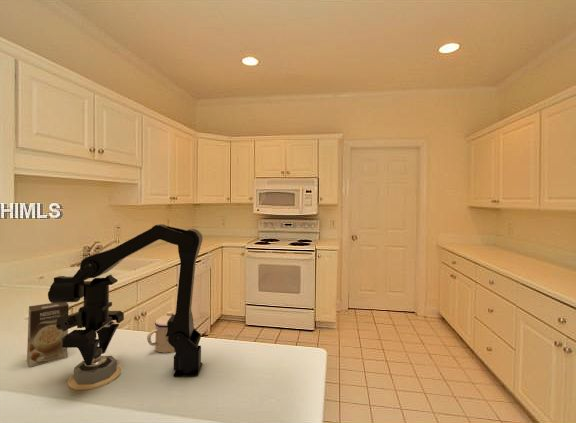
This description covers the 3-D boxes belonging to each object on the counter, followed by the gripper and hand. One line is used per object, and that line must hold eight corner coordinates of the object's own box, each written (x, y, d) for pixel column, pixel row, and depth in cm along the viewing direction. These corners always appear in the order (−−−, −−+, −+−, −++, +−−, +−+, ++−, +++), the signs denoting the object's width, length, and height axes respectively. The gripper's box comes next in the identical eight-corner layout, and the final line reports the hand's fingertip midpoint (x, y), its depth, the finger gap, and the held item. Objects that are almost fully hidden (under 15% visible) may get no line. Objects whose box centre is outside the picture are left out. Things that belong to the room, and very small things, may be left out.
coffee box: (28, 368, 84) (29, 311, 84) (26, 360, 89) (27, 306, 89) (68, 357, 90) (68, 304, 90) (64, 350, 95) (65, 300, 95)
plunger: (110, 366, 82) (110, 342, 83) (100, 376, 78) (100, 351, 78) (91, 367, 82) (91, 342, 82) (80, 377, 77) (80, 351, 77)
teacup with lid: (174, 338, 104) (174, 305, 104) (189, 346, 99) (190, 311, 99) (140, 351, 95) (140, 314, 95) (155, 360, 89) (155, 321, 89)
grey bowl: (129, 364, 86) (129, 352, 86) (106, 389, 74) (106, 375, 74) (86, 366, 85) (86, 353, 85) (56, 391, 73) (56, 376, 73)
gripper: (86, 292, 89) (85, 344, 89) (38, 313, 70) (37, 379, 70) (124, 291, 89) (124, 343, 89) (87, 312, 71) (86, 378, 71)
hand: (95, 359), depth 80 cm, fingers open, 6 cm apart
